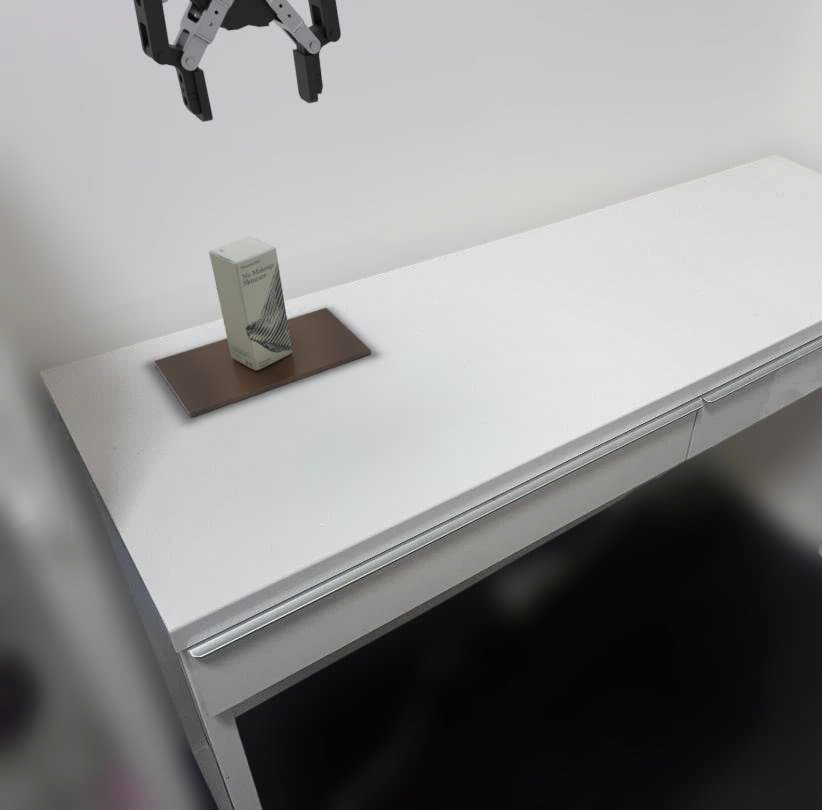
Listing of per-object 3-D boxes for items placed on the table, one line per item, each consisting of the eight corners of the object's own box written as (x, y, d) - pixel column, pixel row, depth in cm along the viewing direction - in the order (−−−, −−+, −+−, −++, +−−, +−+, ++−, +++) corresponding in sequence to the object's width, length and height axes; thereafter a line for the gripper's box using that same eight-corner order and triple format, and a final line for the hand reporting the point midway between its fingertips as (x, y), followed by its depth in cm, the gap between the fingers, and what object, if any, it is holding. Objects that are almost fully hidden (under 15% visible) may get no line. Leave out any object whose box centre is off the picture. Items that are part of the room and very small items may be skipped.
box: (256, 373, 85) (233, 264, 77) (230, 358, 87) (204, 250, 79) (296, 352, 89) (277, 245, 81) (269, 338, 91) (249, 232, 83)
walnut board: (190, 417, 80) (189, 413, 80) (155, 365, 87) (153, 360, 86) (371, 354, 90) (370, 349, 90) (326, 311, 97) (326, 307, 96)
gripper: (293, -145, 59) (320, 83, 69) (85, -144, 52) (149, 110, 62) (340, -135, 55) (362, 108, 65) (119, -133, 48) (182, 140, 57)
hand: (257, 109), depth 63 cm, fingers open, 8 cm apart
